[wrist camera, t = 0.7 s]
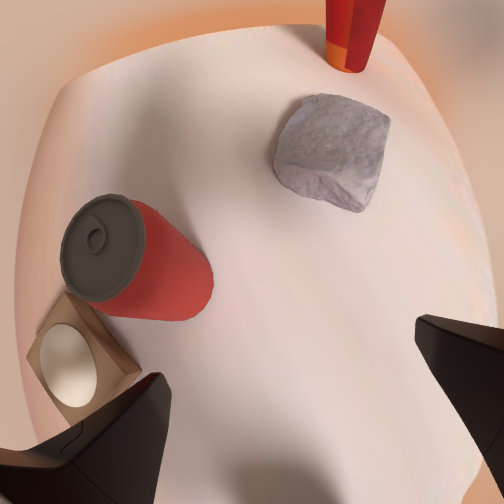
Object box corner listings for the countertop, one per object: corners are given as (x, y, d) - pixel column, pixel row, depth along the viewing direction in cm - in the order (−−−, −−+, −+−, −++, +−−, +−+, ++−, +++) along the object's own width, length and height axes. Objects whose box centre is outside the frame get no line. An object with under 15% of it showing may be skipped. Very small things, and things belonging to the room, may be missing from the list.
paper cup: (373, 56, 29) (389, -20, 16) (371, 84, 27) (393, -5, 14) (322, 43, 30) (326, -34, 17) (312, 68, 29) (316, -23, 15)
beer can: (193, 233, 24) (128, 161, 13) (230, 296, 23) (177, 266, 11) (135, 271, 24) (44, 230, 12) (166, 334, 22) (73, 336, 11)
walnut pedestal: (142, 370, 22) (124, 375, 18) (94, 427, 20) (76, 434, 17) (82, 295, 24) (62, 291, 21) (43, 356, 23) (24, 356, 20)
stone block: (269, 195, 27) (369, 222, 23) (257, 165, 22) (376, 193, 19) (306, 116, 29) (389, 133, 26) (300, 85, 25) (393, 101, 21)
